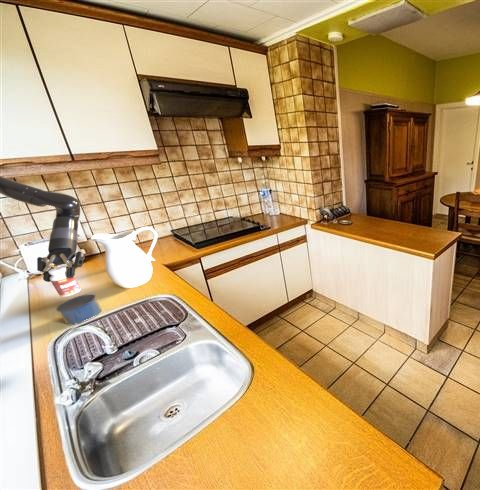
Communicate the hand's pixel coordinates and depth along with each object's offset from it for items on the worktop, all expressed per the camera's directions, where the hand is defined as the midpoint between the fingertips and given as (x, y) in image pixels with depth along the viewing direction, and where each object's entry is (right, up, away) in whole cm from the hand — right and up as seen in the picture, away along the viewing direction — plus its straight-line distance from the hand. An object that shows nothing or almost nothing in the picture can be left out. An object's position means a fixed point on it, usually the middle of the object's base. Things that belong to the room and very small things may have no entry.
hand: (58, 279), depth 103 cm
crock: (+1, -17, +9) cm, 19 cm away
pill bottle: (0, -6, +5) cm, 8 cm away
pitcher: (+4, -5, +35) cm, 36 cm away
